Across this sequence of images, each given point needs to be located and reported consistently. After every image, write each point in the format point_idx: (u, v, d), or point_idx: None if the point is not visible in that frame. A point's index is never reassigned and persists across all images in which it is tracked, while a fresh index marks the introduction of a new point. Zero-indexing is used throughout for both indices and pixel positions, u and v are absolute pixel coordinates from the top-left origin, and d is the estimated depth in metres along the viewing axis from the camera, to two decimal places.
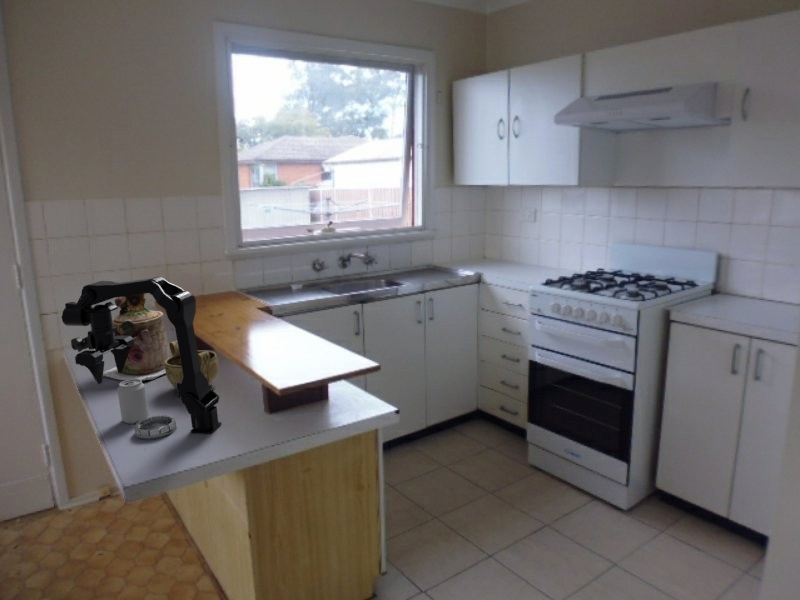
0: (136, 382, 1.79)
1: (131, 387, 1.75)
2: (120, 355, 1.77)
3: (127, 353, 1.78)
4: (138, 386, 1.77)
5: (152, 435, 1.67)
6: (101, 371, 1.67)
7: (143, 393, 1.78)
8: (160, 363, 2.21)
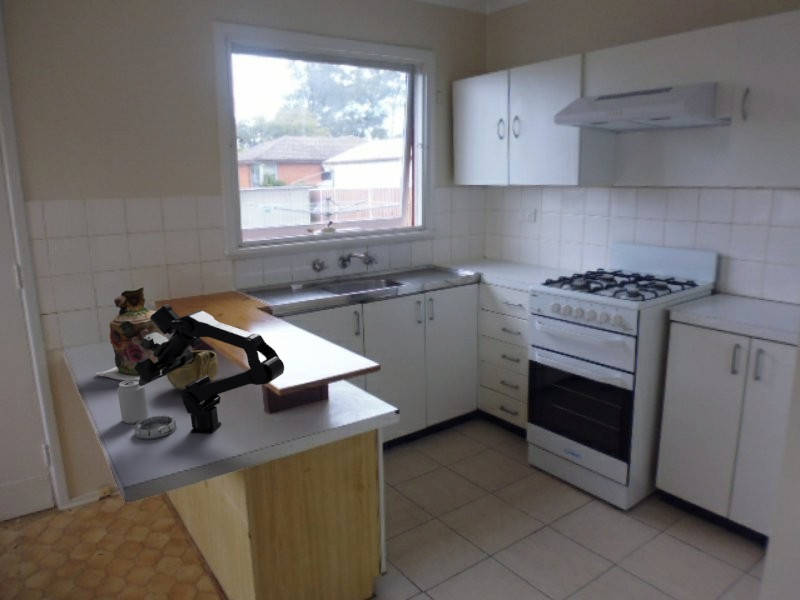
0: (136, 382, 1.79)
1: (131, 387, 1.75)
2: None
3: (179, 367, 1.78)
4: (138, 386, 1.77)
5: (152, 435, 1.67)
6: (148, 382, 1.68)
7: (143, 393, 1.78)
8: None
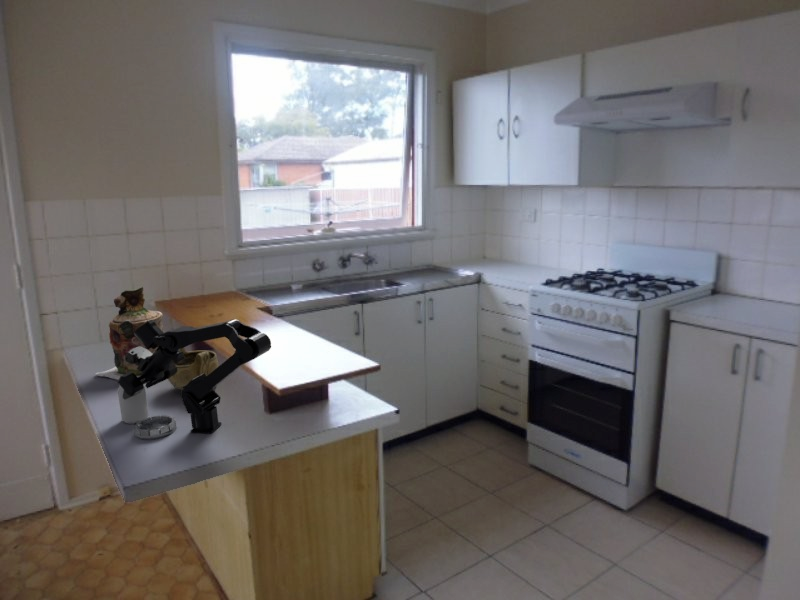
0: None
1: None
2: None
3: (163, 380, 1.81)
4: None
5: (152, 435, 1.67)
6: None
7: (143, 393, 1.78)
8: None
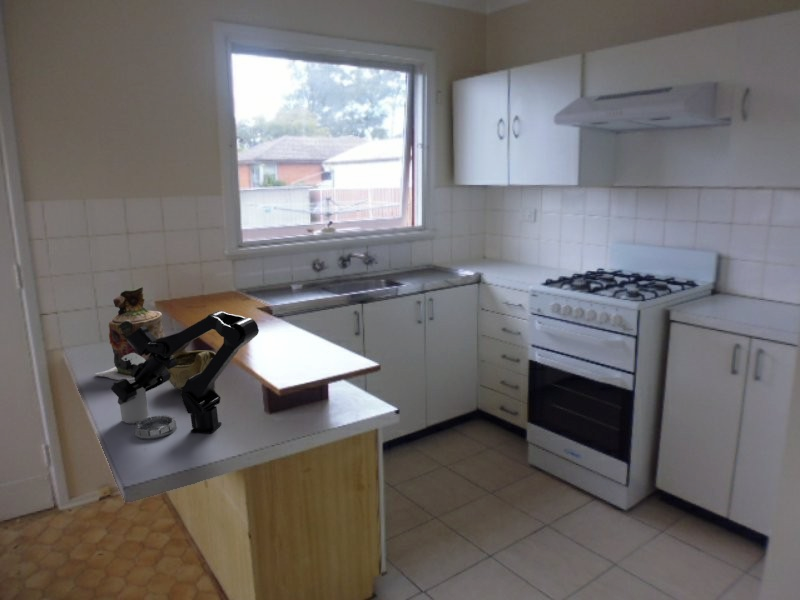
0: None
1: None
2: None
3: None
4: None
5: (152, 435, 1.67)
6: (127, 401, 1.73)
7: (143, 393, 1.78)
8: None
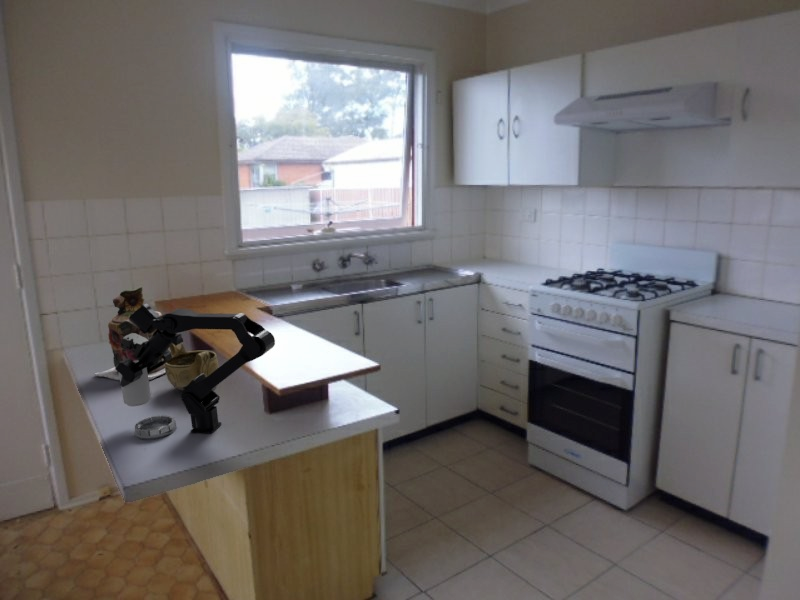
0: None
1: None
2: None
3: None
4: None
5: (152, 435, 1.67)
6: (131, 382, 1.68)
7: (146, 374, 1.73)
8: None
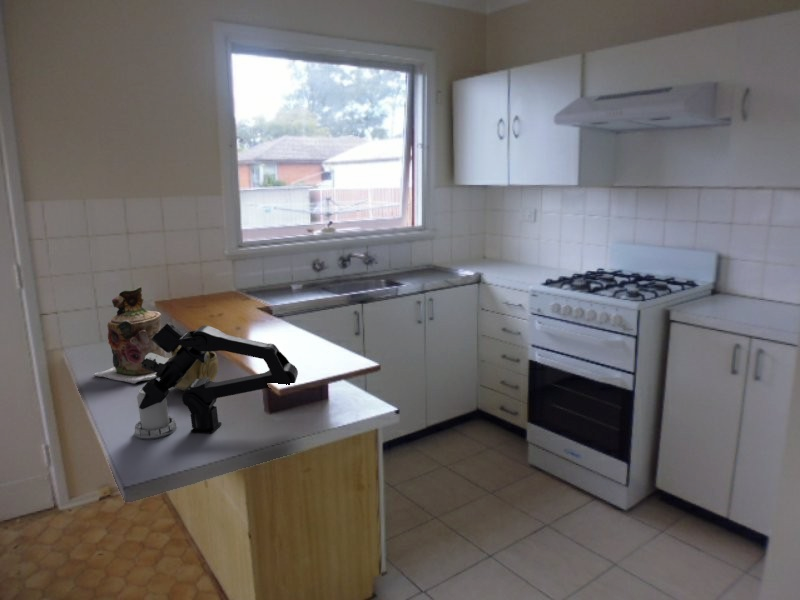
0: None
1: None
2: (166, 384, 1.74)
3: None
4: None
5: (152, 435, 1.67)
6: None
7: (165, 398, 1.70)
8: None
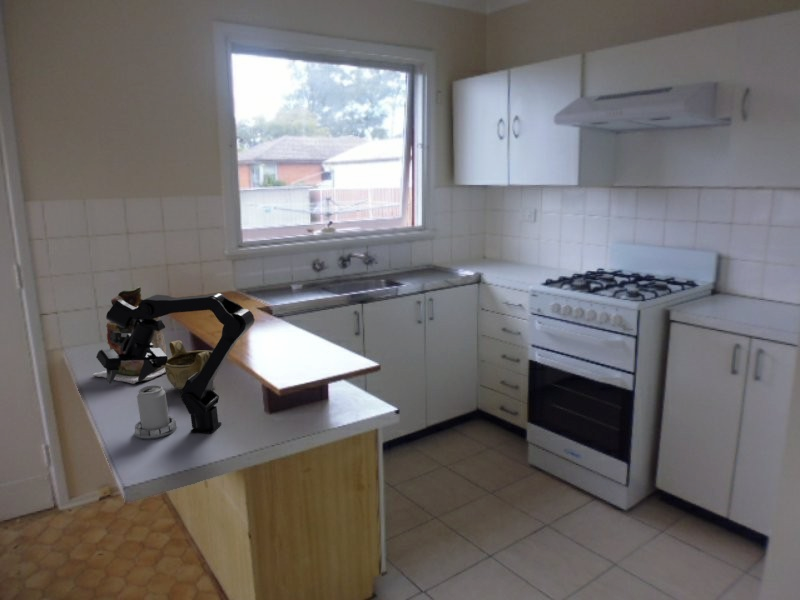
0: (155, 388, 1.70)
1: (155, 393, 1.67)
2: (147, 367, 1.75)
3: (153, 370, 1.74)
4: (161, 391, 1.69)
5: (152, 435, 1.67)
6: (112, 375, 1.66)
7: (165, 398, 1.70)
8: None
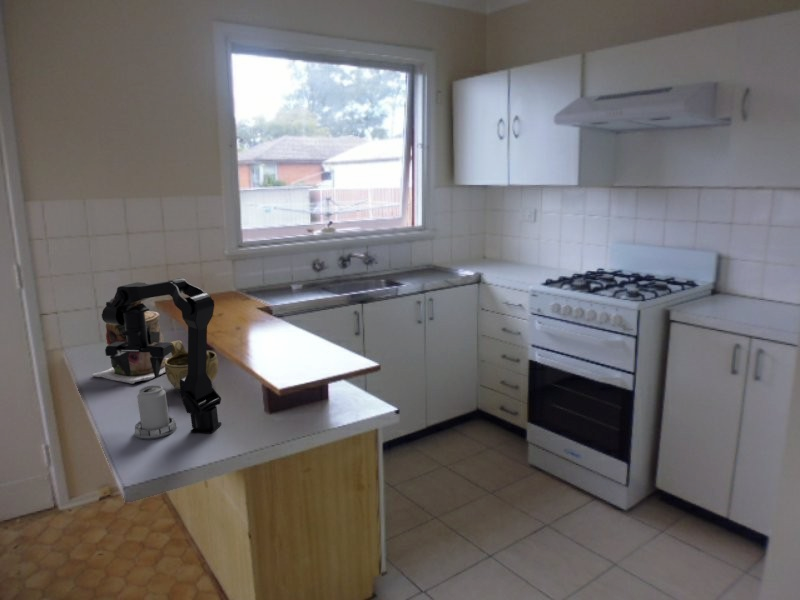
0: (155, 388, 1.71)
1: (156, 393, 1.67)
2: None
3: (153, 362, 1.74)
4: (161, 391, 1.69)
5: (152, 435, 1.67)
6: (119, 365, 1.77)
7: None
8: None
